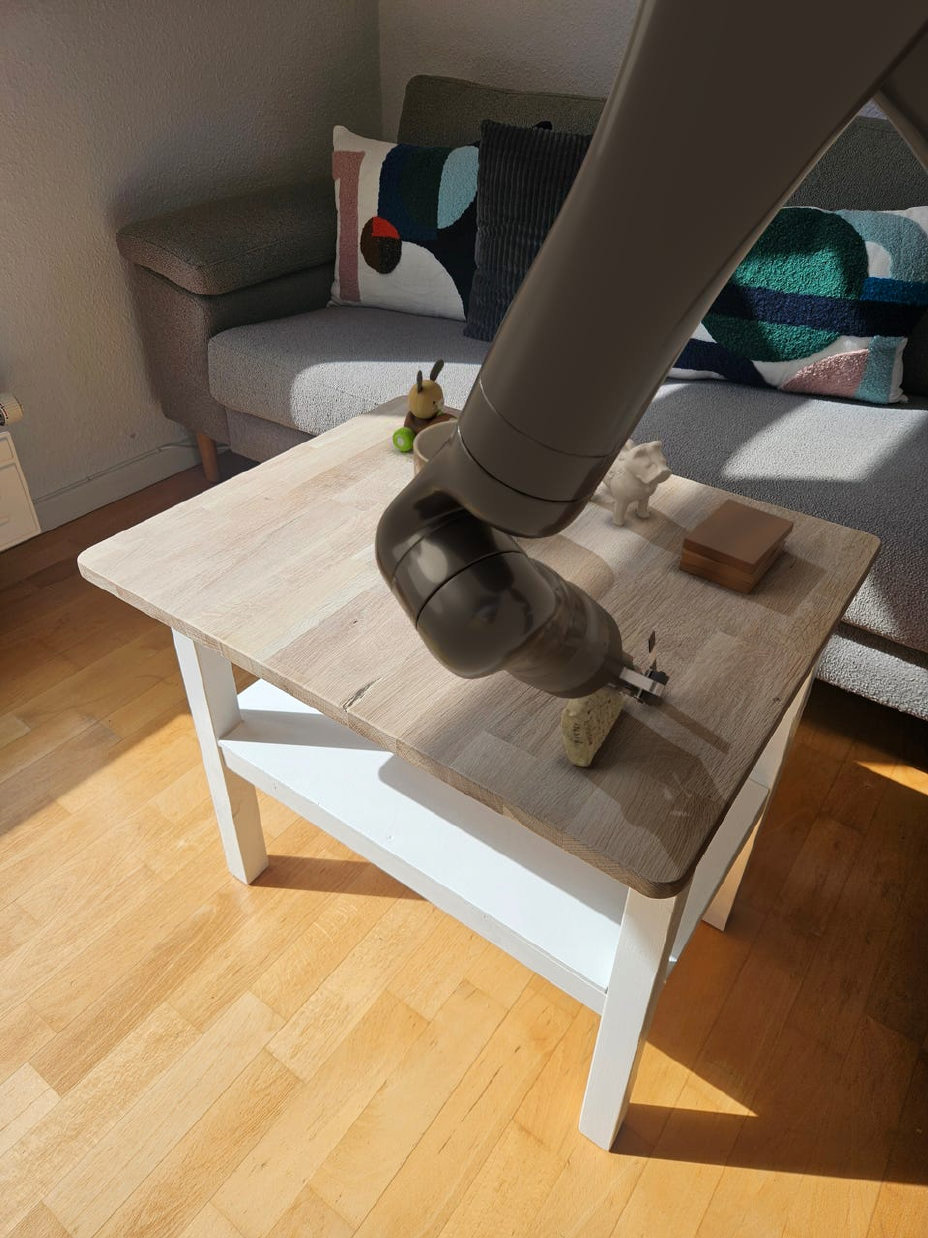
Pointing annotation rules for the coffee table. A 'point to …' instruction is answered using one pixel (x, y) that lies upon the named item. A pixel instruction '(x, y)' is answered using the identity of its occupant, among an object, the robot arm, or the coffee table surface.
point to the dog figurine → (635, 477)
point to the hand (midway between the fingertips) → (613, 674)
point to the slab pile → (735, 545)
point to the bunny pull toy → (422, 408)
